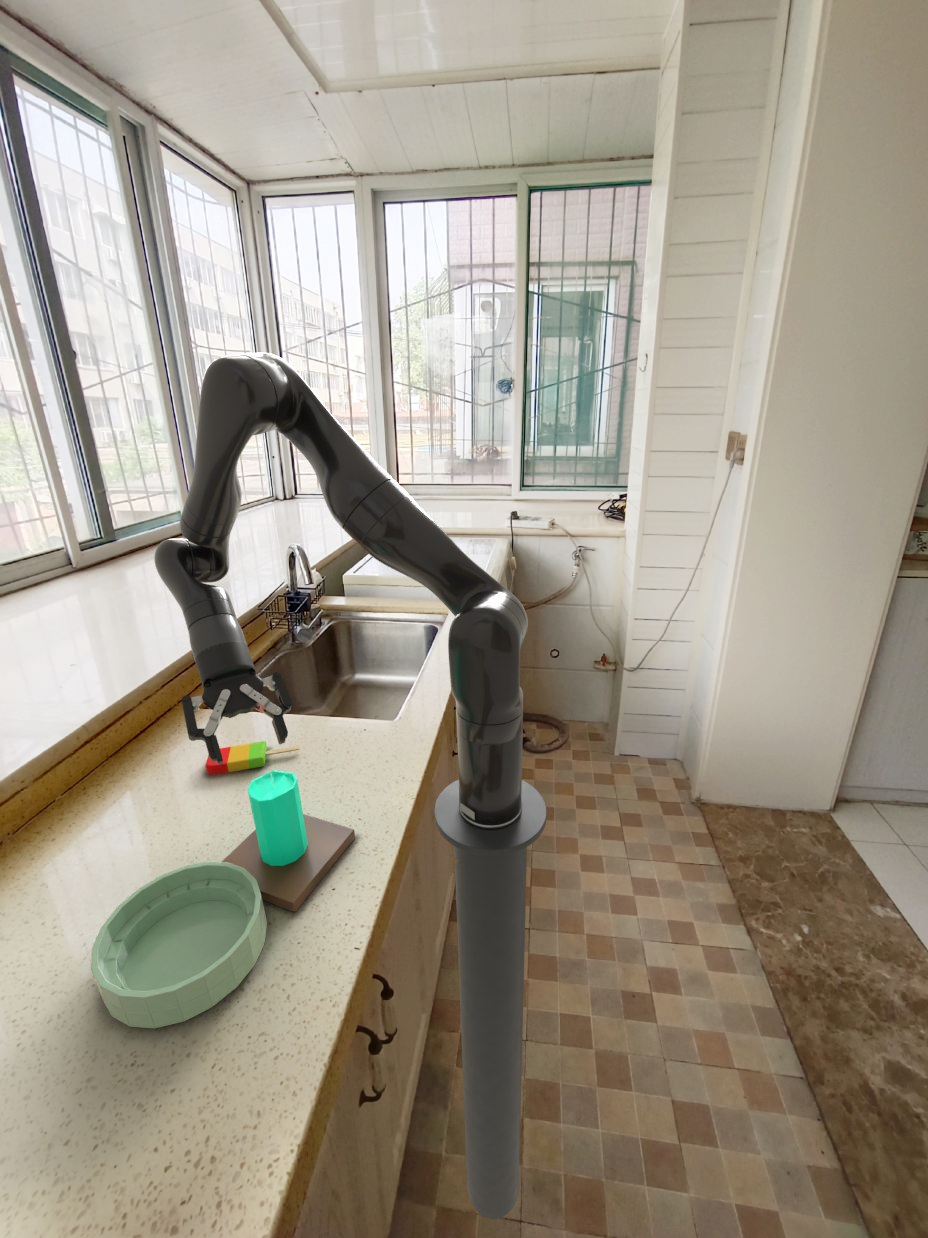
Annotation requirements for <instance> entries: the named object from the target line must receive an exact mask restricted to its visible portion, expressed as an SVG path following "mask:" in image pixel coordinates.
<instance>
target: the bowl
mask: <svg viewBox="0 0 928 1238" xmlns="http://www.w3.org/2000/svg"><path fill="white" fill-rule="evenodd" d="M267 927H268V921H267V916H266V911H265V906H264V900H262V896H261V893H260V890H259V886H258V883H257V880H256V879H255V878H254V877H253V876H252V875H251V874H250V873H249V872H248V871H247V870H246V869H245V868H242V867H239V866H237V865H234V864H231V863H228V862H222V861H204V862H198V863H194V864H187V865H184V866H181V867H179V868H176V869H173V870H171V871H168V872H166V873H163V874H161V875H159V876H157V877H156V878H154V879H152V880H151V881H149V882H148V883H146V884H144V885H143V886H140V887H139V888H137V889H136V890H135V891H134V892H133V893H132V894H130V895H129V896H128V897H127V898H126V899H125V900H123V901H122V902H121V903H120V904H118V906H116V908H115V909H114V911H113V912H112V913H111V914H110V915H109V916H108V918H107V919H106V921H105V922H104V923H103V924H102V926H101V927H100V929H99V931H98V933H97V936H96V938H95V940H94V943H93V945H92V948H91V957H90V971H91V974H92V976H93V979H94V981H95V984H96V987H97V990H98V992H99V995H100V997H101V1000H102V1002H103V1003H104V1005H105V1007H106V1009H107V1011H108V1013H109V1015H110V1017H112V1018H113V1019H115V1020H117V1021H119V1022H121V1023H122V1024H124V1025H127V1027H130V1028H131V1027H132V1028H144V1029H158V1028H162V1027H167V1026H171V1025H174V1024H175V1025H176V1024H179V1023H184V1022H186V1021H189V1020H190V1019H192V1018H193V1017H196V1016H198V1015H200V1014H202V1013H204V1012H206V1011H208V1010H209V1009H211V1008H213V1007H214V1006H216V1005H217V1004H218V1003H219V1002H221V1001H222V1000H223V999H224V998H226V997H227V996H229V994H230V993H232V992H233V991H234V990H235V989H237V988H238V987H239V986H240V984H241V983H242V981H243V980H244V979H245V978H246V977H247V976H248V974H249V973H250V972H251V970H252V969H253V968H254V967H255V965H256V963H257V960H258V958H259V956H260V955H261V952H262V950H263V947H264V945H265V943H266V935H267Z"/></svg>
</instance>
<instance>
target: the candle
mask: <svg viewBox="0 0 928 1238" xmlns="http://www.w3.org/2000/svg"><path fill="white" fill-rule="evenodd" d="M247 793H248V798H249V802H250V803H249V804H250V808H251V811H252V812H251V813H252V818H253V822H254V828H255V830H256V833H257V838H258V843H259V848H260V853H261V856H262V860H263V862H265V863H267V864H269V865H271V866H284V865H287V864H289V863H292V862H294V861H296V860H297V859H298V858H299V857H301V856H302V855H303V854H304V853H305V850H306V847H307V845H308V842H307V836H306V830H305V824H304V818H303V814H304V813H303V805H302V800H301V793H300V787H299V781H298V778H297V776H296V774H295V772H290V771H283V770H277V769H276V770H275V769H273V770H271V771H269V772H267V773H265V774H262V775H260V776H259V777H256V778H254V779H251V782H250V783H249V786H248V787H247Z"/></svg>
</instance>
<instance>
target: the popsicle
mask: <svg viewBox="0 0 928 1238" xmlns="http://www.w3.org/2000/svg"><path fill="white" fill-rule="evenodd" d="M219 748H220V747H219ZM267 749H268V746H267V741H265V740H263V741H256V742H251V743H244V744H238V745H232V746H226V747H221V748H220V751H221V755H222V758H223V763H222V764H219V765H217V762H216V761H215V762H212V761H211V760H210V757H209V754H208V756H207V759H206V762H205V770H206V772H207V774H208V775H211V776H214V775H221V774H227V773H233V772H238V771H245V770H250V769H255V768H260V767H264V766H265V765H266V758H267V757H266V756H272V755H278V754H283V753H291V752H295V751H300V750H301V746H300V745H295V746H288V747H283V748H277V749H270V750H267Z"/></svg>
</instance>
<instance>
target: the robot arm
mask: <svg viewBox="0 0 928 1238" xmlns="http://www.w3.org/2000/svg"><path fill="white" fill-rule="evenodd" d="M198 403H199V404H198V415H197V417H198V418H197V426H196V427H197V428H196V439H195V453H194V465H193V472H192V477H191V482H190V486H189V489H188V492H187V496H186V499H185V501H184V504H183V508H182V510H181V511H182V512H181V515H180V518H179V531H180V532H181V534H182V536H183V537H184V538H168V539H165V540H162V541H161V542H160V543H159V544H158V545H157V547H156V548H155V551H154V558H153V559H154V566H155V569H156V571H157V574H158V576H159V578H160V580H161V581H162V582H163V584H164V586H165V587H166V588H167V589H168V591H169V592H170V593H171V595H172V596H173V598H174V600H175V602H177V604H178V606H179V607H180V609H181V611H182V614H183V615H182V616H183V618H184V621H185V625H186V628H187V632H188V637H189V645H190V649H191V652H192V655H191V656H192V658H193V659H194V662H195V666H196V669H197V672H198V676H199V679H200V680H199V681H200V683H201V687H202V690H203V691H202V694H201V695H196V696H192V697H191V696H190V695H183V697H182V698H181V706H182V711H183V716H184V720H185V721H184V722H185V725H186V730H187V736H188V739H189V741H191V742H195V741H203V742H204V743H205V746H206V750H207V753H208V755H209V757H210V760H211V761H212V762H215V761H216V762H217V765H219V764H222V763H223V758H222V755H221V751H220V745H219V742H218V738H217V735H216V733H217V730H218V728H219V726H220V724H221V723H222V720H223V718H228V719H231V718H235V717H236V716H237V717H238V715H241V714H242V715H243V714H248V713H252V711H253V710H254V709H255V710H256V711H258V712H259V713H261V714H264V715H265V716H268V717H269V718H270V719H272V720H271V724H272V727H273V730H274V734H275V737H276V739H277V742H278V745H283V744H285V743H286V739H287V738H288V735H289V731H288V728H287V725H286V722H285V719H284V715H286V714H287V713H289V712H291V710H292V707H293V704H294V703H293V701H292V698H291V696H290V694H289V690H288V689H287V686H286V684H285V682H284V681H285V680H284V679H283V676H282V675H281V673H280V672H278V671H274V672H273V673H272V675H270V676H266V677H264V678H261V677H260V676H259V675H258V673H257V670H256V668H255V665H254V661H253V659H252V655H251V653H250V649H249V646H248V643H247V640H246V637H245V634H244V632H243V629H242V627H241V625H240V623H239V621H238V619H237V615H236V612H235V609H234V606H233V603H232V599H231V597H230V595H229V593H228V591H227V590H226V589H224V588H223V587H221V586H218V585H214V584H210V583H216V582H219V581H220V580H222V579H223V578H225V577H226V576H227V574H228V572H229V570H230V553H229V552H230V550H229V549H230V536H231V533H232V530H233V527H234V525H235V523H236V520H237V518H238V514H239V512H240V509H241V505H242V494H243V493H242V488H241V483H240V479H239V477H238V471H237V469H238V463H239V460H240V458H241V456H242V453H243V452H244V449H245V448H246V446H247V444H248V443H249V442H250V440H251V439H252V437H253V436H258V435H262V434H266V433H267V432H268V433H269V432H272V431H276V432H277V433H279V434H281V436H283V437H284V438H285V439H286V440H287V441H289V442H290V443H291V444H292V445H293V446H294V447H295V448H296V449H297V450H298V452H300V453H301V454H302V455H303V456H304V458H305V459H306V460H307V461H308V463H309V465H311V467H312V469H313V471H314V473H315V476H316V478H317V482H318V485H319V487H320V490H321V492H322V496H323V499H324V501H325V504H326V507H327V509H328V511H329V513H330V515H331V516H332V518H333V519H334V520H335V522H336V523H337V524H338V525H339V526H340V528H341V529H342V530H344V532H345V533H346V534H347V535H348V536H349V537H350V538H352V540H353V541H354V542H355V543H356V544H357V545H358V546H359V547H360V548H362V550H363V551H365V552H366V553H367V554H368V555H369V556H371V557H372V558H373V559H374V560H376V561H378V562H379V563H381V564H383V565H384V566H386V567H388V568H390V569H392V570H394V571H396V572H397V573H399V574H401V575H403V576H406V577H408V578H410V579H412V580H414V581H415V582H417V583H419V584H420V585H422V586H423V587H425V588H426V589H428V591H430V592H431V593H432V594H433V595H435V597H437V598H438V599H439V600H440V601H441V603H443V605H445V607H446V608H447V609H448V610H449V611H450V613H452V615H453V616H454V618H453V620H452V621H451V624H450V626H449V631H448V639H447V640H448V643H447V648H448V650H447V651H448V666H449V679H450V690H451V693H452V696H453V698H454V700H455V712H456V740H457V742H456V744H457V772H458V780H459V813H460V815H461V817H462V818H463V819H464V821H466V822H467V823H468V824H470V825H471V826H473V827H476V828H479V829H484V830H498V829H503V828H506V827H508V826H510V825H512V824H513V823H515V822H516V821H517V820H518V819H519V817H520V815H521V812H522V802H521V792H522V780H523V739H524V738H523V737H524V736H523V735H524V734H523V733H524V730H523V729H524V691H523V689H522V687H521V681H520V680H521V679H520V678H521V666H520V665H521V648H522V645H523V643H524V641H525V638H526V636H527V632H528V630H529V629H528V628H529V620H528V615H527V613H526V612H527V611H526V610H525V607H524V606H523V604H522V602H521V601H520V600H519V599H518V597H516V595H514V594H513V593H512V592H511V591H510V590H509V589H508V588H506V587H505V586H503V585H502V584H501V582H500V581H498V580H496V579H495V578H494V577H493V576H492V575H490V574H489V573H488V572H487V571H485V570H484V569H483V568H482V567H481V566H479V564H477V563H476V562H475V561H473V559H471V557H470V556H468V555H467V554H466V553H465V552H464V551H463V550H462V549H461V548H460V547H459V546H458V545H457V544H456V543H455V542H454V540H453V539H451V537H450V536H449V535H448V533H446V532H445V531H444V530H443V529H442V528H441V527H440V525H438V523H437V522H435V520H434V519H433V518H432V517H431V516H430V515H429V514H428V513H427V512H426V511H425V510H424V509H423V508H422V507H421V506H420V505H419V503H418V502H417V501H416V500H415V499H414V498H413V497H412V496H411V495H410V494H409V492H407V491H406V490H405V489H404V487H402V486H401V485H400V484H399V482H397V480H395V478H393V477H392V475H390V474H389V473H388V472H387V470H385V469H384V468H383V467H382V466H381V465H380V464H379V463H378V462H377V461H376V460H375V459H374V458H373V457H372V456H371V455H370V454H369V453H368V451H366V449H364V448H363V446H361V444H360V443H358V442H357V440H356V439H355V438H354V437H353V436H352V435H351V434H350V433H349V432H348V431H347V430H346V428H344V427H343V426H342V425H341V424H340V423H339V421H338V420H337V419H336V418H335V417H334V416H333V414H332V413H331V412H330V411H329V410H328V408H327V407H326V405H325V404H324V403H323V402H322V401H321V400H320V398H319V397H318V396H317V395H316V393H315V391H313V389H312V388H311V387H310V386H309V385H308V383H307V382H306V381H305V379H304V378H303V377H302V376H301V375H300V374H299V372H297V370H296V369H295V368H294V367H293V366H292V365H291V364H290V363H289V362H287V361H286V360H284V359H283V358H282V357H280V356H278V355H276V354H273V353H270V352H250V353H249V352H248V353H239V354H229V355H225V356H221V357H218V358H216V359H214V360H213V361H212V362H211V363H210V364H209V365H208V366H207V368H206V369H205V372H204V375H203V378H202V383H201V387H200V393H199V402H198ZM208 583H209V584H208ZM264 687H266V688H268V690H270V691H271V692H274V693H275V695H276V697H277V700H278V703H279V705H276V704H275V703H273V702H272V701H271V700H270V699H269V698H268V697H266V696H264V695H263V694H262V691H263V689H264ZM201 705H205V706H207V708H209V709H211V710H212V712H211V714H210V716H209V718H208V721H207V723H206V726H205V727H204V728H198V724H197V720H196V715H195V714H196V713H198V712H199V711H200V706H201Z"/></svg>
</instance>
